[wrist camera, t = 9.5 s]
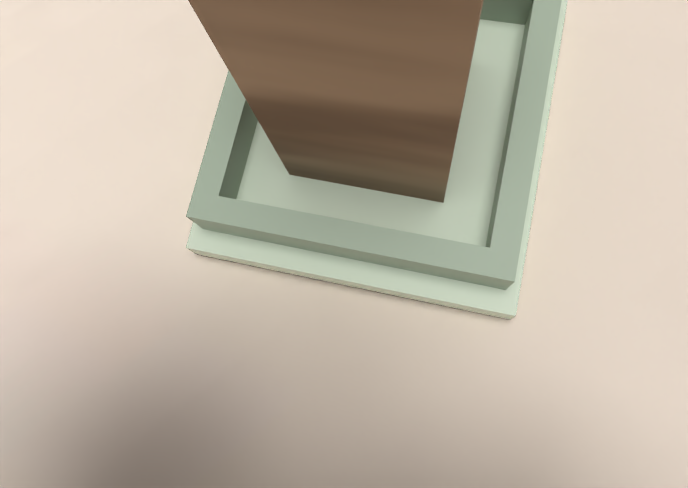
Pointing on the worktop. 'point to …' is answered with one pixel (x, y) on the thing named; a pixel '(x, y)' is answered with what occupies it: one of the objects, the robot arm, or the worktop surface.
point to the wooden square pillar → (353, 84)
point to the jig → (392, 209)
